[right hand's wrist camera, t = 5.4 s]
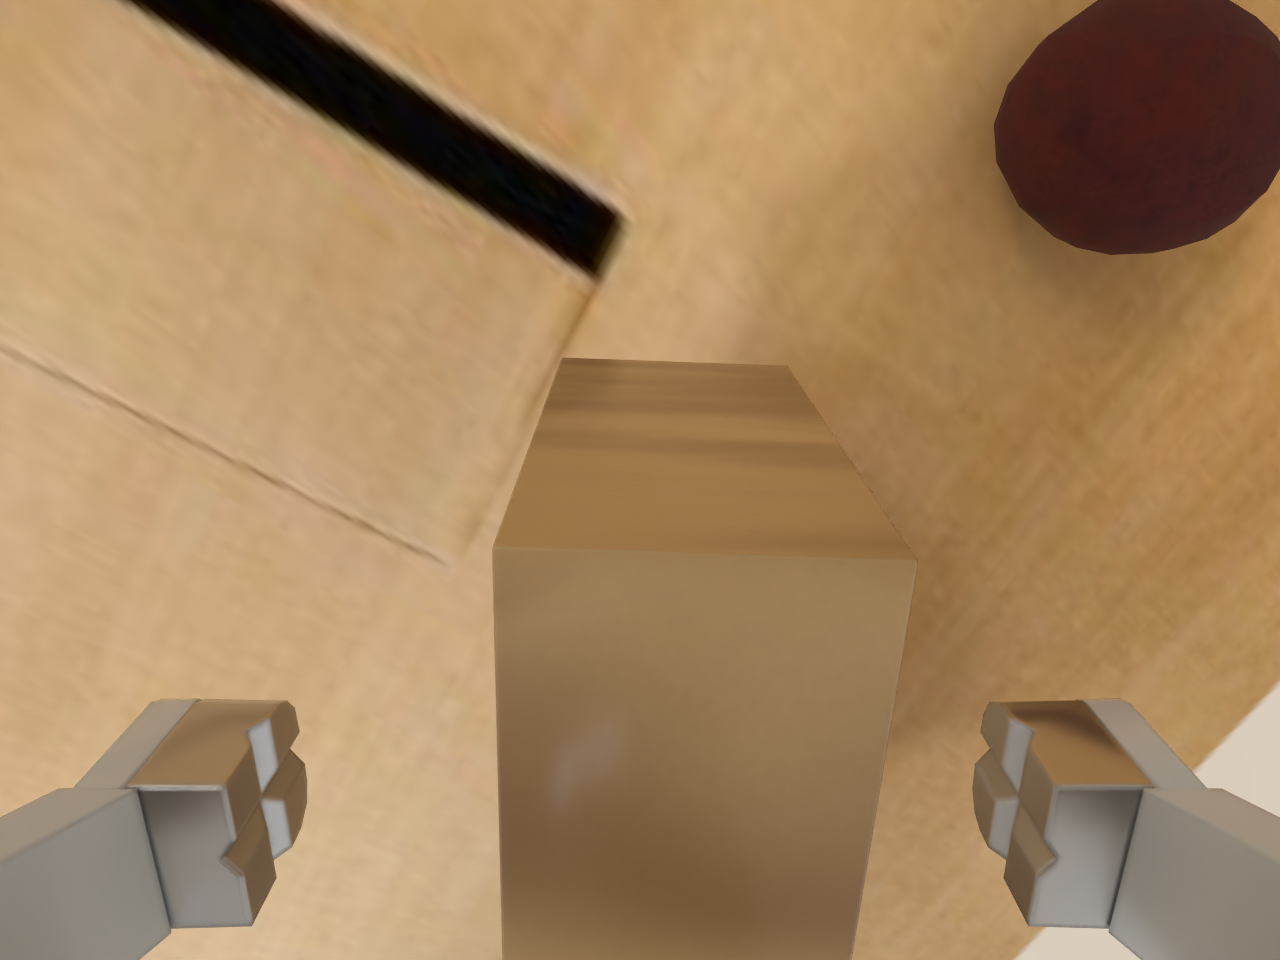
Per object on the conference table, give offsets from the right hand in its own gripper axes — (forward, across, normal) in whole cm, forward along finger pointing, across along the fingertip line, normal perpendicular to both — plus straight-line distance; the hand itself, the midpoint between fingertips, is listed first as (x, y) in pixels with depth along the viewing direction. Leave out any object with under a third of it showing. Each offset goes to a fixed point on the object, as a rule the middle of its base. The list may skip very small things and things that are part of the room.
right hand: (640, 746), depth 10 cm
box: (+14, 0, +10) cm, 17 cm away
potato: (+23, -15, -8) cm, 28 cm away
